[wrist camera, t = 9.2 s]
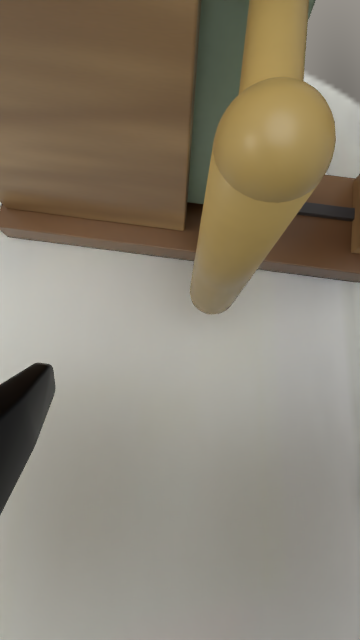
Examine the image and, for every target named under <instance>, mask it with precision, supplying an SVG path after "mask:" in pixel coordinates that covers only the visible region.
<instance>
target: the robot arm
mask: <svg viewBox="0 0 360 640" xmlns="http://www.w3.org/2000/svg"><path fill="white" fill-rule="evenodd" d="M54 393H55V379H54V372H53V367H52V366H51V365H50V364H44V363H35V364H33V365H31V366H30V367H28V368H27V369H25V370H23V371H22V372H20V373H18V374H17V375H15V376H14V377H12V378H10V379H9V380H7V381H5V382H4V383H2V384H1V385H0V515H1V513H2V511H3V509H4V507H5V505H6V503H7V501H8V499H9V497H10V495H11V493H12V491H13V489H14V487H15V485H16V483H17V481H18V479H19V477H20V475H21V473H22V471H23V469H24V467H25V465H26V463H27V461H28V459H29V457H30V455H31V453H32V451H33V449H34V447H35V444H36V442H37V439H38V437H39V434H40V431H41V429H42V426H43V423H44V421H45V418H46V415H47V413H48V410H49V407H50V404H51V402H52V399H53V396H54Z"/></svg>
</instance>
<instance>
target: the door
mask: <svg viewBox="0 0 360 640" xmlns="http://www.w3.org/2000/svg"><path fill="white" fill-rule="evenodd" d="M314 3H315V0H201V15H200V29H199V43H198V58H197V72H196V86H195V101H194V115H193V130H192V144H191V158H190V173H189V187H188V201H187V202H190V203H198V204H203V210H202V216H201V223H200V229H199V235H198V242H197V248H196V254H195V260H194V267H193V273H192V279H191V285H190V296H191V300H192V302H193V304H194V305H195V307H196V308H197V309H199V310H200V311H202V312H204V313H207V314H219V313H222V312H224V311H225V310H227V309H228V308H229V307H230V306H231V305H232V303H233V302H234V301H235V299H236V298H237V296H238V295H239V294H240V292H241V291H242V290H243V288H244V287H245V285H246V284H247V283H248V281H249V280H250V278H251V277H252V276H253V274H254V273H255V272H256V270H257V269H258V267H259V266H260V265H261V263H262V262H263V260H264V259H265V258H266V256H267V255H268V253H269V252H270V251H271V249H272V248H273V247H274V245H275V244H276V242H277V241H278V240H279V238H280V237H281V235H282V234H283V233H284V231H285V230H286V229H287V227H288V226H289V224H290V223H291V222H292V220H293V219H294V217H295V216H296V215H297V213H298V212H299V210H300V209H301V208H302V206H303V205H304V204H305V202H306V201H307V199H308V198H309V197H310V195H311V194H312V192H313V191H314V190H315V188H316V187H317V186H318V184H319V183H320V181H321V180H322V178H323V177H324V175H325V173H326V171H327V169H328V167H329V165H330V162H331V160H332V157H333V152H334V147H335V141H336V136H335V122H334V118H333V115H332V112H331V110H330V108H329V106H328V104H327V102H326V100H325V99H324V97H323V96H322V95H321V94H320V92H318V91H317V90H316V89H315V88H314V87H312V86H311V85H309V84H307V83H306V82H303V79H304V64H305V50H306V36H307V22H308V19H309V17H310V14H311V11H312V8H313V6H314Z"/></svg>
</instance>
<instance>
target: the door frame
mask: <svg viewBox="0 0 360 640" xmlns="http://www.w3.org/2000/svg"><path fill="white" fill-rule="evenodd" d="M200 15H201V0H0V202H1V203H2V205H1V209H0V230H1V231H2V232H3V233H4V234H5V235H7V236H8V237H15V238H23V239H30V240H38V241H46V242H53V243H61V244H69V245H76V246H84V247H92V248H99V249H107V250H115V251H123V252H130V253H138V254H146V255H153V256H161V257H169V258H176V259H184V260H192V261H194V260H195V254H196V248H197V242H198V235H199V229H200V223H201V216H202V210H203V204H198V203H190V202H187V201H188V187H189V173H190V158H191V144H192V130H193V115H194V101H195V86H196V72H197V58H198V43H199V29H200ZM258 269H261V270H269V271H276V272H284V273H292V274H299V275H307V276H315V277H322V278H330V279H338V280H346V281H353V282H360V174H359V176H358V177H357V178H356V179H355V178H347V177H339V176H331V175H324V177H323V178H322V180H321V181H320V183H319V184H318V186H317V187H316V188H315V190H314V191H313V192H312V194H311V195H310V197H309V198H308V199H307V201H306V202H305V204H304V205H303V206H302V208H301V209H300V210H299V212H298V213H297V215H296V216H295V217H294V219H293V220H292V222H291V223H290V224H289V226H288V227H287V229H286V230H285V231H284V233H283V234H282V235H281V237H280V238H279V240H278V241H277V242H276V244H275V245H274V247H273V248H272V249H271V251H270V252H269V253H268V255H267V256H266V258H265V259H264V260H263V262H262V263H261V265H260V266H259V267H258Z"/></svg>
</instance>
